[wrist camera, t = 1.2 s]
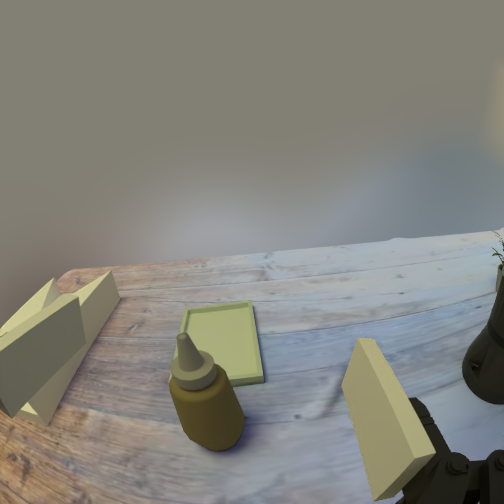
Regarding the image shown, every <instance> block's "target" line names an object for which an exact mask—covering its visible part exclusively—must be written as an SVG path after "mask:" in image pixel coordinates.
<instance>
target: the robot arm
mask: <svg viewBox="0 0 504 504" xmlns="http://www.w3.org/2000/svg"><path fill="white" fill-rule="evenodd" d="M502 274H503V275H502V279H501V283H500V286H499V290H498V293H497V296H496V300H495V303H494V306H493V309H492V312H491V315H490V318H489V320H488V323H487V325H486V326H485V328H484V329H483V330H482V331H481V333H480V334H479V335H478V336H477V338H476V339H475V340H474V341H473V342H472V344H471V345H470V347H469V348H468V350H467V353H466V355H465V357H464V360H463V364H462V371H463V376H464V379H465V381H466V383H467V385H468V386H469V388H470V389H471V390H472V391H473V392H474V393H475V394H476V395H477V396H479V397H480V398H482V399H483V400H485V401H488V402H491V403H495V404H504V266H503V269H502ZM85 344H86V338H85V333H84V328H83V322H82V316H81V310H80V303H79V296H76V295H72V294H66V295H64V296H63V297H61V298H60V299H58V300H56V301H55V302H53V303H52V304H50V305H48V306H47V307H45V308H44V309H42V310H41V311H39V312H37V313H36V314H34V315H33V316H31V317H30V318H28V319H27V320H25V321H24V322H22V323H21V324H19V325H18V326H16V327H15V328H13V329H12V330H10V331H9V332H6V333H5V334H3V335H2V336H1V337H0V409H1V410H2V411H3V412H4V413H5V414H7V415H8V416H9V417H10V418H13V417H14V416H15V415H16V414H17V413H18V412H19V410H20V409H21V408H22V407H23V406H24V405H25V404H26V403H27V402H28V401H29V400H30V399H31V398H32V397H33V396H34V395H35V394H36V393H37V392H38V391H39V389H40V388H41V387H42V386H43V385H44V384H45V383H46V382H47V381H48V380H49V379H50V378H51V377H52V376H53V375H54V374H55V373H56V372H57V371H58V370H59V369H60V368H61V367H62V366H63V365H64V364H65V363H66V362H67V361H68V360H70V359H71V358H72V357H73V356H74V355H75V354H76V353H77V352H78V351H79V350H80V349H81V348H82V347H83V346H84V345H85ZM341 386H342V389H343V392H344V396H345V399H346V402H347V405H348V409H349V412H350V416H351V419H352V422H353V426H354V429H355V433H356V436H357V440H358V443H359V447H360V451H361V454H362V458H363V462H364V466H365V470H366V473H367V477H368V481H369V485H370V489H371V494H372V498H373V501H378V500H383V499H387V498H392V497H394V496H395V495H396V494H397V493H398V492H399V491H400V490H401V489H402V491H403V495H404V496H403V497H402V498H401V499H400V500H399V501H398V502H396V503H395V504H478V502H479V501H480V504H504V450H495V451H494V452H492V453H491V454H490V455H489V456H488V457H487V459H486V460H480V461H469V459H468V458H467V457H466V456H464V455H463V454H461V453H456V452H451V451H450V449H449V447H448V445H447V444H446V442H445V440H444V438H443V436H442V434H441V433H440V431H439V429H438V427H437V425H436V424H434V423H435V422H434V420H433V418H432V417H430V413H429V411H428V410H427V408H426V406H425V405H424V404H423V403H422V402H421V401H419V400H418V399H417V398H407V396H406V394H405V392H404V390H403V389H402V387H401V385H400V383H399V381H398V380H397V378H396V376H395V374H394V373H393V371H392V369H391V368H390V366H389V364H388V362H387V361H386V359H385V357H384V356H383V354H382V352H381V351H380V349H379V347H378V346H377V344H376V342H375V341H374V339H373V338H357V341H356V344H355V348H354V351H353V354H352V357H351V360H350V363H349V365H348V368H347V371H346V374H345V377H344V379H343V382H342V385H341Z"/></svg>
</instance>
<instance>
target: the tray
mask: <svg viewBox="0 0 504 504" xmlns="http://www.w3.org/2000/svg"><path fill="white" fill-rule="evenodd" d="M181 333H187V334H188V335H189V336H190V338H191V340H192V341H193V343H194V345H195V346H196V348H197V349H198V350H202V351H204V352H207V353H209V354H210V355H211V356H212V357H213V359H214V363H215V364H218V365H220V366H221V367H222V368H223V369H224V370H225V371H226V374H227V376H228V378H229V381H230V383H231V386H232V387H235V386H244V385H252V384H260V383H264V377H263V370H262V364H261V358H260V352H259V345H258V339H257V333H256V326H255V320H254V314H253V307H252V301H251V300H250V301H242V302H235V303H227V304H219V305H210V306H202V307H193V308H185V311H184V315H183V319H182V323H181V327H180V332H179V334H181ZM177 356H178V348H177V345H176V350H175V354H174V359H175V358H176V357H177ZM174 359H173V360H174ZM171 377H172V374H171V373H170V378H169V382H170V380H171ZM168 384H169V383H168Z"/></svg>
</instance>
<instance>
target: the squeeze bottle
mask: <svg viewBox="0 0 504 504" xmlns="http://www.w3.org/2000/svg"><path fill="white" fill-rule="evenodd" d="M177 348H178V356H177V357H176V358H175V359H174V360H173V361H172V364H171V366H170V369H171V374H172V377H171V380H170V382H169V387H170V393H171V396H172V399H173V402H174V405H175V408H176V411H177V414H178V416H179V419H180V422H181V425H182V427H183V430H184V432H185V433H186V435H187V436H188V437H189V439H190V440H192V441H194V442H196V443H197V444H199V445H201V446H203V447H205V448H207V449H209V450H214V451H221V450H226V449H229V448H230V447H232V446H233V445H235V444H236V442H237V441H238V439H239V438H240V435H241V433H242V430H243V428H244V422H245V416H244V414H243V411H242V408H241V406H240V404H239V402H238V399H237V397H236V395H235V392H234V390H233V388H232V386H231V383H230V381H229V378H228V376H227V374H226V371H225V370H224V369H223V368H222V367H221V366H220V365H218V364H215V363H214V359H213V357H212V356H211V355H210V354H209V353H207V352H204V351H202V350H198V349H197V348H196V346H195V345H194V343H193V341H192V340H191V338H190V336H189V335H188V334H187V333H181V334H179V335H177Z"/></svg>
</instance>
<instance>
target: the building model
mask: <svg viewBox="0 0 504 504" xmlns="http://www.w3.org/2000/svg"><path fill="white" fill-rule="evenodd" d="M64 295H66V294H61V293H60V291H59V288H58V286H57V283H56V280H55V278H53V279H51V280H50V281H49V282H48V283H47V284H46V285H45V286H44V287H43V288H41V289H40V290H39V291H38V292H37V293H36V294H35V295H34V296H33V297H32V298H31V299H30V300H29V301H27V302H26V303H25V304H24V305H23V306H22V307H21V308H20V309H19V310H18V311H17V312H16V313H15V314H14V315H13V316H12V317H11V318H10V319H9V320H8V321H7V322H6V324H4V325H3V326H2V328H1V329H0V337H1V336H2V335H3V334H5V333H6V332H9V331H10V330H12V329H13V328H15V327H16V326H18V325H19V324H21V323H22V322H24V321H25V320H27V319H28V318H30V317H31V316H33V315H34V314H36V313H37V312H39V311H41V310H42V309H44V308H45V307H47V306H48V305H50V304H52V303H53V302H55V301H56V300H58V299H60V298H61V297H63V296H64ZM72 295H76V296H79V303H80V310H81V316H82V322H83V328H84V333H85V338H86V344H85V345H84V346H83V347H82V348H81V349H80V350H79V351H78V352H77V353H76V354H75V355H74V356H73V357H72V358H71V359H70V360H68V361H67V362H66V363H65V364H64V365H63V366H62V367H61V368H60V369H59V370H58V371H57V372H56V373H55V374H54V375H53V376H52V377H51V378H50V379H49V380H48V381H47V382H46V383H45V384H44V385H43V386H42V387H41V388H40V389H39V391H38V392H37V393H36V394H35V395H34V396H33V397H32V398H31V399H30V400H29V401H28V402H27V403H26V404H25V405H24V406H23V407H22V408H21V409H20V410H19V412H18V413H17V414H16V415H17V416H19V417H22V418H25V419H28V420H30V421H33V422H36V423H39V424H42V425H45V426H48V425H49V423H50V421H51V419H52V417H53V415H54V413H55V411H56V409H57V407H58V405H59V403H60V401H61V399H62V397H63V395H64V393H65V391H66V389H67V387H68V386H69V384H70V382H71V380H72V378H73V376H74V375H75V373H76V371H77V369H78V368H79V366H80V364H81V362H82V361H83V359H84V357H85V355H86V354H87V352H88V350H89V349H90V347H91V345H92V344H93V342H94V340H95V339H96V337H97V335H98V334H99V332H100V331H101V329H102V327H103V326H104V324H105V323H106V321H107V319H108V318H109V316H110V315H111V313H112V312H113V310H114V309H115V307H116V306H117V304H118V303H119V301H120V300H121V298H120V295H119V292H118V289H117V286H116V283H115V280H114V277H113V274H112V271H109V272H108V273H106V274H104V275H103V276H101V277H99V278H98V279H96V280H94V281H93V282H91V283H89V284H88V285H86V286H85V287H83V288H81V289H80V290H78V291H77V292H75V293H72Z"/></svg>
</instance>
